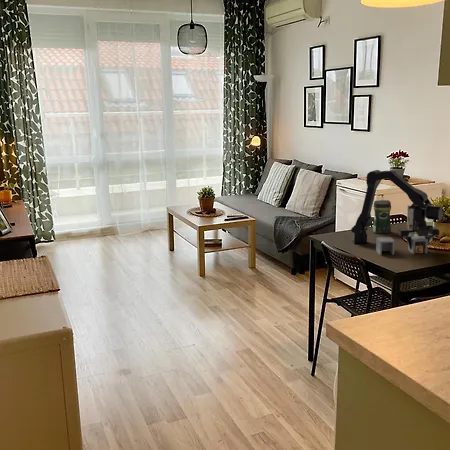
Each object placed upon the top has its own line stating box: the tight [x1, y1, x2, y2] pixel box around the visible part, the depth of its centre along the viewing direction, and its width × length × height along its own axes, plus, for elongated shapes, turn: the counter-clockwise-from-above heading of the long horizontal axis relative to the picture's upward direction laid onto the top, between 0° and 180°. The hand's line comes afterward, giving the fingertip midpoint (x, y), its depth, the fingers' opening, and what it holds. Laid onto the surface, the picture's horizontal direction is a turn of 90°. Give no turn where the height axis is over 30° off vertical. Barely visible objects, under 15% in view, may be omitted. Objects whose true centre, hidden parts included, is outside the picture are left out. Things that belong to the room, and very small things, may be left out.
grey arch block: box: [407, 236, 429, 255], centre depth 253 cm, size 7×7×7 cm
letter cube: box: [414, 244, 424, 254], centre depth 253 cm, size 4×4×4 cm
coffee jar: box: [372, 199, 392, 234], centre depth 290 cm, size 10×8×19 cm
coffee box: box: [406, 205, 414, 236], centre depth 281 cm, size 9×6×16 cm
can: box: [414, 217, 434, 243], centre depth 270 cm, size 9×9×12 cm
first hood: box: [375, 236, 396, 256], centre depth 254 cm, size 7×7×7 cm
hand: (417, 248), depth 254 cm, fingers closed on grey arch block, 7 cm apart
